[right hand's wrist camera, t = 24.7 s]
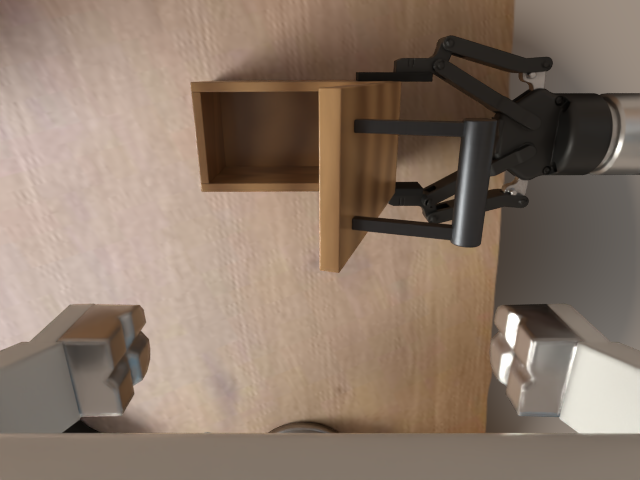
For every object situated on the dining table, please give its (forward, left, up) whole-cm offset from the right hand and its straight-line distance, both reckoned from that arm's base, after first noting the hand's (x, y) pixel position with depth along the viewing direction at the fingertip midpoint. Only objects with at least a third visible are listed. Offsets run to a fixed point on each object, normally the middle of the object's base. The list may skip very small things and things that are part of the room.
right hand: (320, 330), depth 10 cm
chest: (-1, -2, -40) cm, 40 cm away
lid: (+1, +3, -22) cm, 23 cm away
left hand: (+2, +3, -34) cm, 34 cm away
